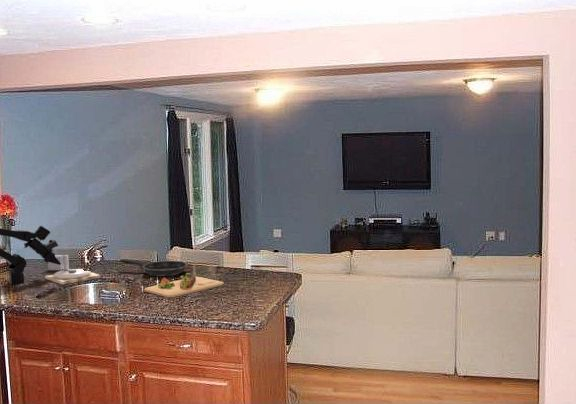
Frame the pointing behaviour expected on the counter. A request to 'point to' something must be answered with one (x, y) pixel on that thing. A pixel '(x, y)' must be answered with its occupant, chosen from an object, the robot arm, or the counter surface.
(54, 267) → the medicine box
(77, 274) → the white base with post
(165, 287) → the cutting board
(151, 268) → the frying pan
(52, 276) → the dial base
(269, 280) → the counter surface
